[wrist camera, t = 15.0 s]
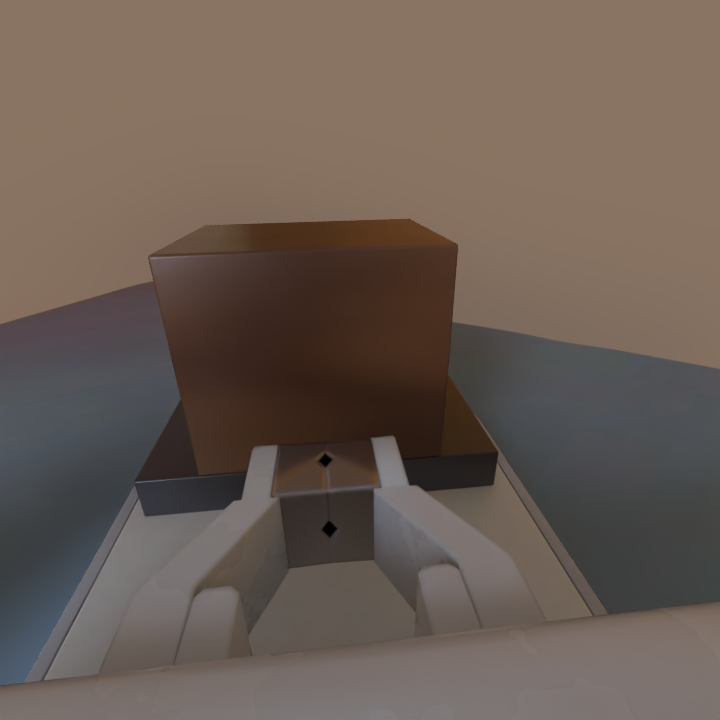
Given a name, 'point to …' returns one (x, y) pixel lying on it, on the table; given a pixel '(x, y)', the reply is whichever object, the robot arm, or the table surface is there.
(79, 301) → the table surface
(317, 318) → the eraser
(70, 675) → the whiteboard
